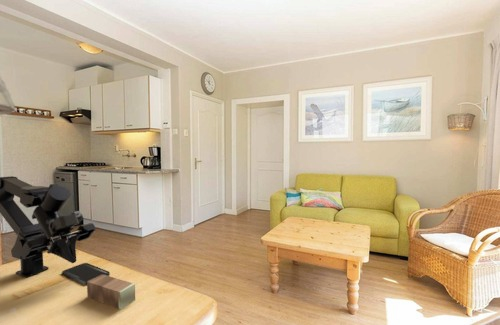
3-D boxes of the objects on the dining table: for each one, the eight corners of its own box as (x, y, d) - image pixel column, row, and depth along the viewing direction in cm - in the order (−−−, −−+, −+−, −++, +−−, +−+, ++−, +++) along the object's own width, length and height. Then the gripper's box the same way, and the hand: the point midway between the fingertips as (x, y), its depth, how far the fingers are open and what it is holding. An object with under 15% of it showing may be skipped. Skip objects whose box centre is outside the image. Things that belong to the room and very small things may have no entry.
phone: (85, 262, 90) (111, 272, 83) (85, 265, 90) (111, 275, 83) (60, 271, 83) (85, 283, 76) (60, 275, 83) (85, 287, 76)
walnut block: (86, 281, 70) (120, 292, 65) (102, 274, 74) (134, 283, 69) (87, 297, 70) (120, 309, 65) (102, 289, 74) (135, 299, 69)
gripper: (24, 211, 68) (50, 259, 64) (91, 198, 85) (115, 236, 81) (9, 235, 72) (33, 282, 68) (77, 219, 89) (99, 255, 85)
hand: (74, 262), depth 75 cm, fingers closed
